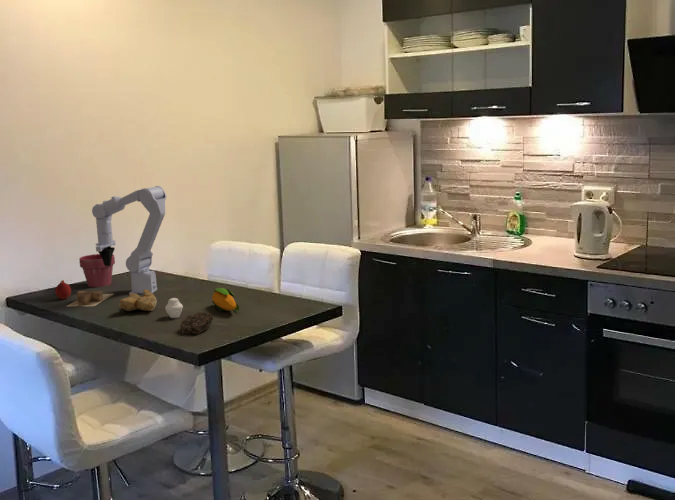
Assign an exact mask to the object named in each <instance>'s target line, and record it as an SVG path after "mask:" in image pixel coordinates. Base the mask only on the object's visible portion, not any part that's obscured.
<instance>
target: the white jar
mask: <svg viewBox="0 0 675 500" xmlns="http://www.w3.org/2000/svg"><path fill="white" fill-rule="evenodd" d="M179 300H180V299H178V298H176V297H172V298H171V297H170V299H168V303H167V304H166V306H165V307H164V308H165V312H166V313H167V314H168V316H169V318H171V319H177V318H179V317H180V316H181V314H182V311H183V308H184V306H183V304H182V303H181V301H179Z"/></svg>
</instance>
